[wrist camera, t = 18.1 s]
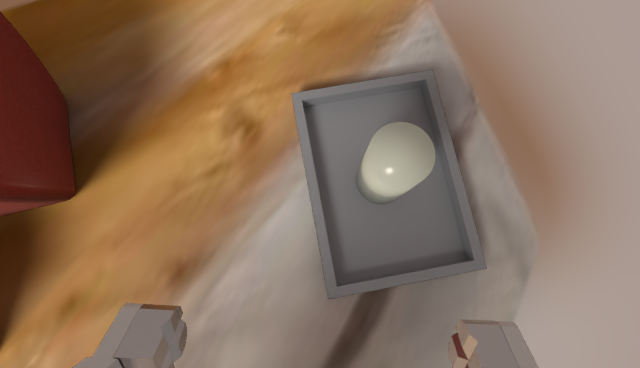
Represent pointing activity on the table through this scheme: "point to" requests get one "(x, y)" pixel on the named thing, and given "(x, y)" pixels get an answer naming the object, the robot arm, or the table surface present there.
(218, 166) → the table surface
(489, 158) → the table surface
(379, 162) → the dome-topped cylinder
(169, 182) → the table surface
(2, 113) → the plant pot
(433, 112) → the grey tray
